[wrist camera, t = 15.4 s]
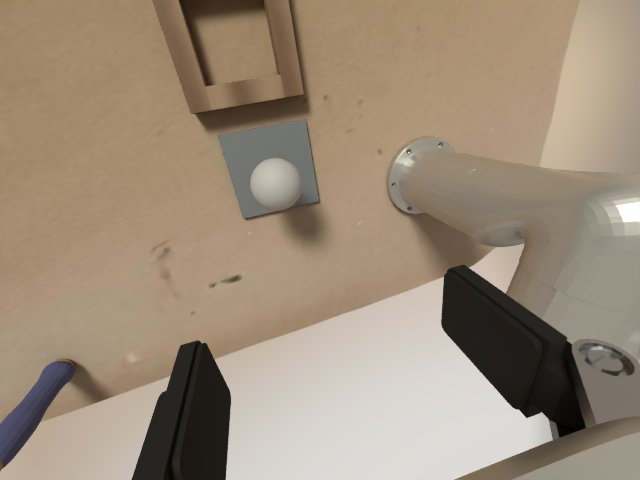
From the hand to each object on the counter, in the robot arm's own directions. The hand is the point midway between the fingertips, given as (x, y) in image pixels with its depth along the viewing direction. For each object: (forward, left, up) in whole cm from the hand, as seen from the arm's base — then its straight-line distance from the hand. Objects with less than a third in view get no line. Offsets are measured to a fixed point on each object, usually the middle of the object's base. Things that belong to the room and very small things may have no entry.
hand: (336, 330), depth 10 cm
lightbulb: (0, 0, -33) cm, 33 cm away
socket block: (+1, -16, -33) cm, 37 cm away
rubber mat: (0, 0, -33) cm, 33 cm away
